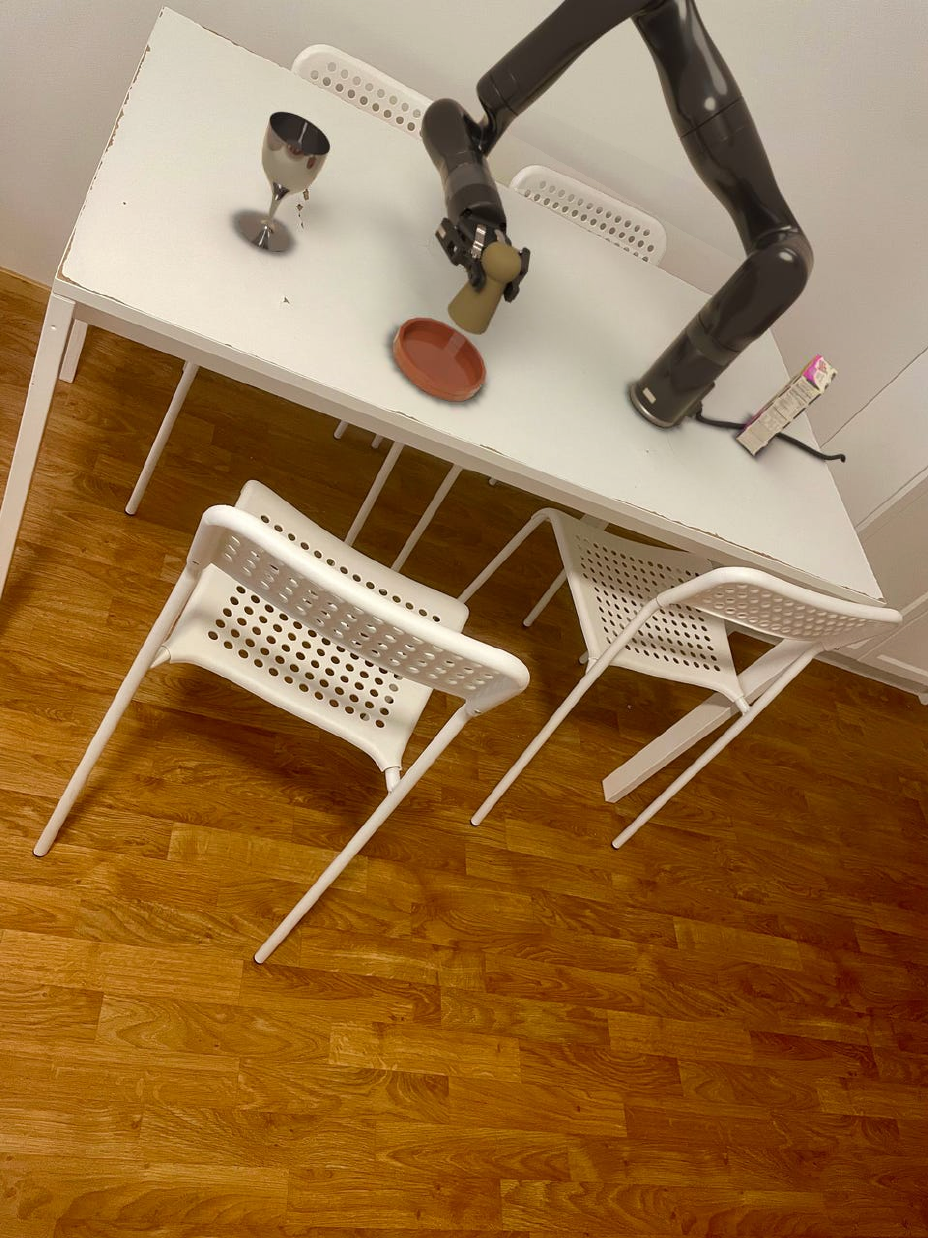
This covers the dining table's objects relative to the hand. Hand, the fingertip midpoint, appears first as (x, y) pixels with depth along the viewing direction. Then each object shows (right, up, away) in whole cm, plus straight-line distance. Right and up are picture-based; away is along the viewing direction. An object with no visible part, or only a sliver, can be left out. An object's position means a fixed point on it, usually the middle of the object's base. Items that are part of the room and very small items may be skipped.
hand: (496, 291), depth 108 cm
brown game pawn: (-4, -1, +7) cm, 8 cm away
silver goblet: (-32, +12, +10) cm, 35 cm away
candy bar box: (+48, -8, +47) cm, 68 cm away
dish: (-8, -6, +13) cm, 16 cm away
